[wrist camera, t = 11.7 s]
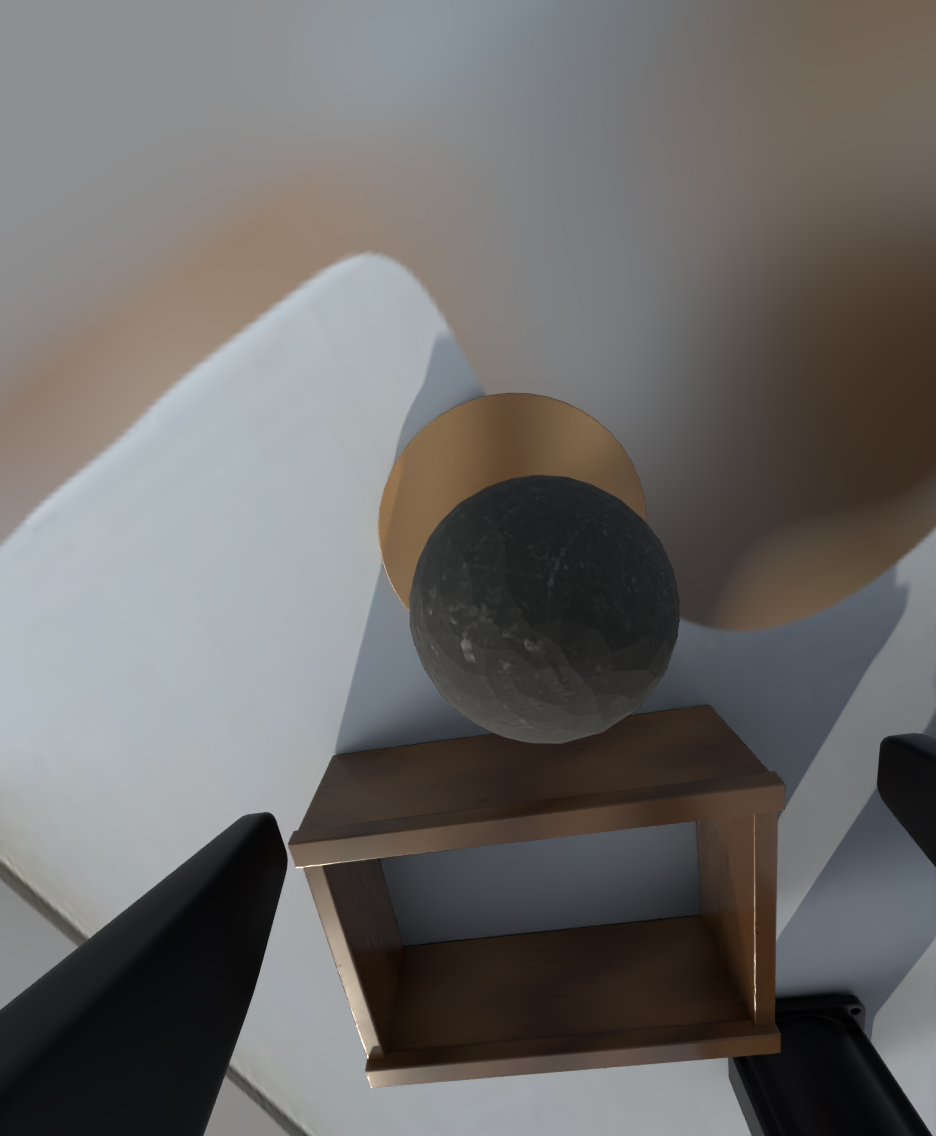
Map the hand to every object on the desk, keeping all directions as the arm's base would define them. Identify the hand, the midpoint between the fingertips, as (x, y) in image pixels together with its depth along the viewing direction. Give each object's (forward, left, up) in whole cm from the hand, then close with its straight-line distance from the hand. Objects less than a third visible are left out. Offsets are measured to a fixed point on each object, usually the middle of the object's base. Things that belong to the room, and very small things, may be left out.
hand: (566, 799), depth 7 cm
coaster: (0, -2, -11) cm, 12 cm away
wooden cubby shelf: (+1, +13, -12) cm, 17 cm away
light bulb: (0, -2, -11) cm, 11 cm away
